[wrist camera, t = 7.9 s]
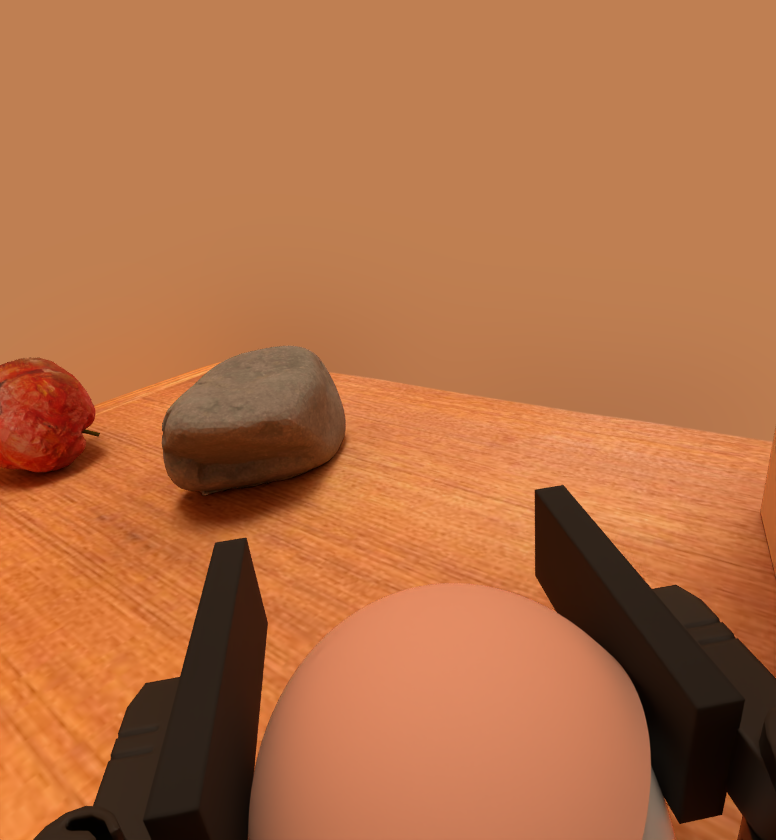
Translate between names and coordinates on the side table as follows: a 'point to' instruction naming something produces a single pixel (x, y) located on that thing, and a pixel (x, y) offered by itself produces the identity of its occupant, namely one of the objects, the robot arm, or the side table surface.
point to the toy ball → (457, 730)
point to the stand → (770, 504)
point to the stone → (253, 421)
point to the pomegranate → (41, 416)
